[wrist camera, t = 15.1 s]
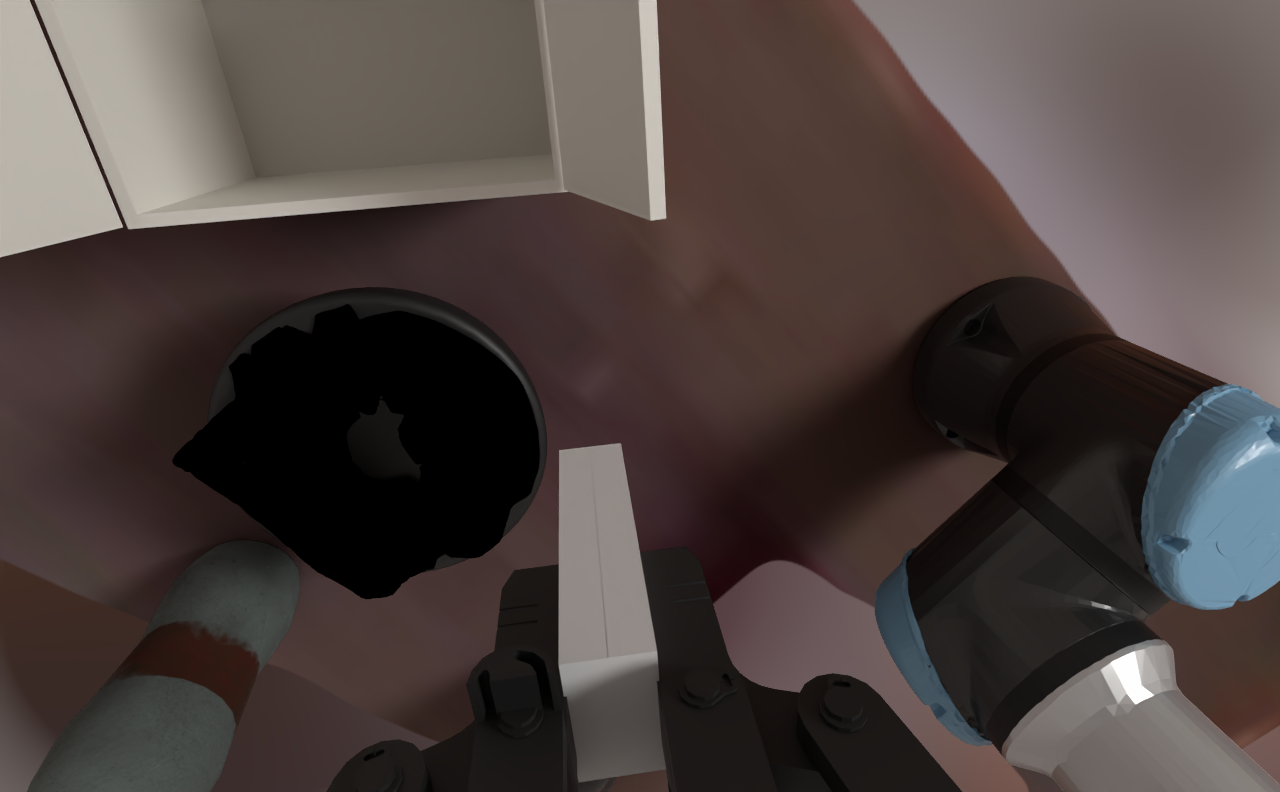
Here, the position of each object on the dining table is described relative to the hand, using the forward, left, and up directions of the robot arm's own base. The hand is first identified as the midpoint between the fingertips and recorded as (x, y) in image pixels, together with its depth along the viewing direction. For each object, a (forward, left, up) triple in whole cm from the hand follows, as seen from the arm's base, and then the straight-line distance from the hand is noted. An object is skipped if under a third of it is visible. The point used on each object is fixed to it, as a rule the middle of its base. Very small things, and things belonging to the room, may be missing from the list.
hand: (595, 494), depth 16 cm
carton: (+10, -13, -33) cm, 37 cm away
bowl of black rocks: (+13, +10, -33) cm, 37 cm away
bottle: (+30, +26, -33) cm, 52 cm away
